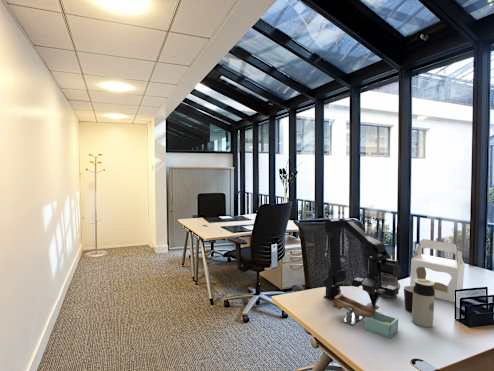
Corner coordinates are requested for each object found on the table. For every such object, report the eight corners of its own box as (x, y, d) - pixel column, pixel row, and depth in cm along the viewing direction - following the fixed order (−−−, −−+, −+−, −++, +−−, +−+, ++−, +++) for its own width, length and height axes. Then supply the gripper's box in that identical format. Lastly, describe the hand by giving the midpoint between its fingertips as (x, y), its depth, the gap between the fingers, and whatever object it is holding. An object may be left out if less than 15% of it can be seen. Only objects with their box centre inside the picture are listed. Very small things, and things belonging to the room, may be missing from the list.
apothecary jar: (376, 298, 163) (377, 263, 162) (372, 290, 174) (374, 257, 173) (402, 301, 160) (404, 265, 159) (397, 292, 171) (398, 259, 170)
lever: (332, 307, 142) (334, 297, 141) (347, 298, 153) (349, 288, 152) (367, 324, 131) (369, 313, 131) (381, 313, 142) (383, 303, 141)
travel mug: (407, 320, 140) (409, 279, 139) (421, 317, 143) (423, 277, 142) (423, 328, 132) (425, 285, 131) (437, 325, 135) (439, 283, 134)
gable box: (463, 296, 169) (466, 243, 167) (456, 303, 159) (460, 247, 158) (417, 284, 185) (419, 236, 183) (409, 290, 175) (411, 239, 174)
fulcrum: (341, 321, 137) (342, 307, 136) (353, 313, 145) (353, 299, 144) (352, 326, 133) (353, 310, 133) (364, 317, 141) (364, 303, 141)
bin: (364, 329, 131) (365, 317, 131) (373, 322, 137) (373, 310, 137) (389, 338, 124) (390, 325, 124) (397, 330, 130) (398, 318, 130)
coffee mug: (412, 315, 145) (413, 293, 144) (398, 307, 153) (399, 286, 152) (433, 312, 148) (434, 291, 147) (418, 305, 156) (419, 284, 155)
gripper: (346, 269, 142) (345, 304, 143) (390, 280, 130) (388, 318, 130) (357, 264, 151) (356, 297, 151) (399, 274, 138) (398, 310, 138)
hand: (373, 305), depth 143 cm, fingers closed
